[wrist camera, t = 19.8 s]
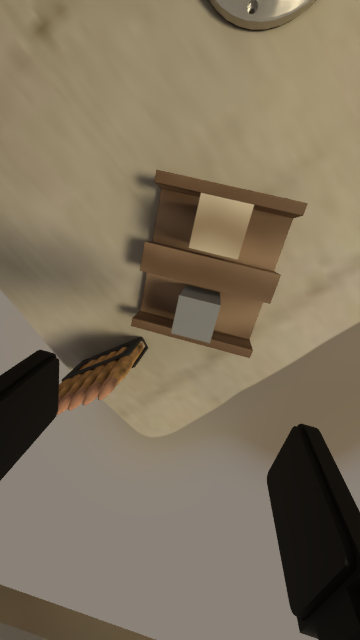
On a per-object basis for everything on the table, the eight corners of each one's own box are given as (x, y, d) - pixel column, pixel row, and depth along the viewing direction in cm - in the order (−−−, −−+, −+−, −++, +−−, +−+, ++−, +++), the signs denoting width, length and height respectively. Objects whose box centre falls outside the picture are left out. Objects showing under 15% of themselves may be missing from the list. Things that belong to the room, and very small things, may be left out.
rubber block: (187, 284, 28) (179, 295, 22) (220, 292, 28) (220, 305, 22) (179, 315, 29) (171, 333, 24) (211, 323, 29) (209, 343, 23)
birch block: (205, 206, 25) (201, 192, 17) (243, 215, 25) (254, 204, 17) (196, 245, 26) (188, 247, 19) (231, 253, 26) (237, 259, 19)
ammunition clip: (87, 371, 35) (27, 432, 24) (81, 361, 35) (16, 418, 24) (148, 348, 33) (112, 404, 21) (142, 336, 32) (102, 388, 21)
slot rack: (165, 180, 26) (156, 169, 22) (293, 208, 25) (307, 203, 21) (141, 315, 31) (131, 325, 27) (245, 343, 30) (249, 357, 26)
